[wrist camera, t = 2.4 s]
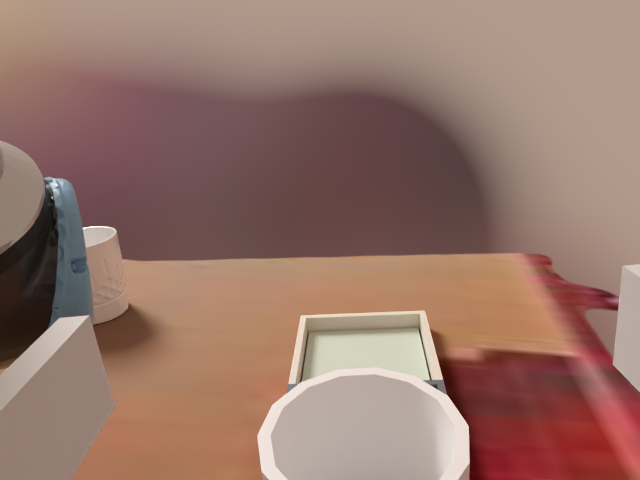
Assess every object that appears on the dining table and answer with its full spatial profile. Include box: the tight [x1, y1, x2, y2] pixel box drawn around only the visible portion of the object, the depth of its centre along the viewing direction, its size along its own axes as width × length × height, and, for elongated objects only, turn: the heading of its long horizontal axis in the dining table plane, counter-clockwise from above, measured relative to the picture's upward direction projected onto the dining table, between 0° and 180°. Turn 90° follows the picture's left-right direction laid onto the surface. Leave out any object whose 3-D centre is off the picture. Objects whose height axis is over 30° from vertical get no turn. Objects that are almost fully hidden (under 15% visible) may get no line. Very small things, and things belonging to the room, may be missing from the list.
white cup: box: [83, 226, 129, 324], centre depth 62 cm, size 8×8×10 cm
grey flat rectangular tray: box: [287, 311, 470, 480], centre depth 38 cm, size 35×13×2 cm, turn 177°
